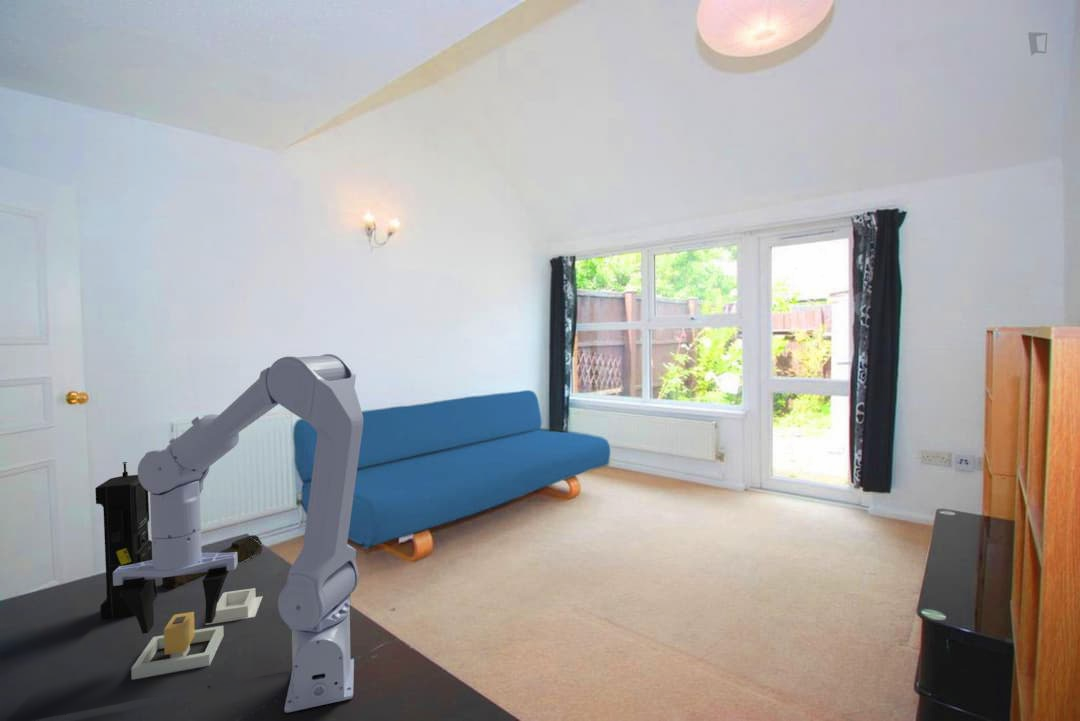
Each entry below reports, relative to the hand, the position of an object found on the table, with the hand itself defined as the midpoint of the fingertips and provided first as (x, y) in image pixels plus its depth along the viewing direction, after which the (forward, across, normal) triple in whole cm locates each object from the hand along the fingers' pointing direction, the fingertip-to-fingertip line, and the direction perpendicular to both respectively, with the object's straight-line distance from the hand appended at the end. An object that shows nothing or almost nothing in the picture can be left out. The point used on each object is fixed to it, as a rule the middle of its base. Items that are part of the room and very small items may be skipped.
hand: (179, 624), depth 73 cm
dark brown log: (+6, +3, -32) cm, 32 cm away
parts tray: (+5, 0, 0) cm, 5 cm away
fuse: (+5, 0, 0) cm, 5 cm away
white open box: (+5, -4, -12) cm, 13 cm away
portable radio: (+6, +12, -18) cm, 23 cm away
